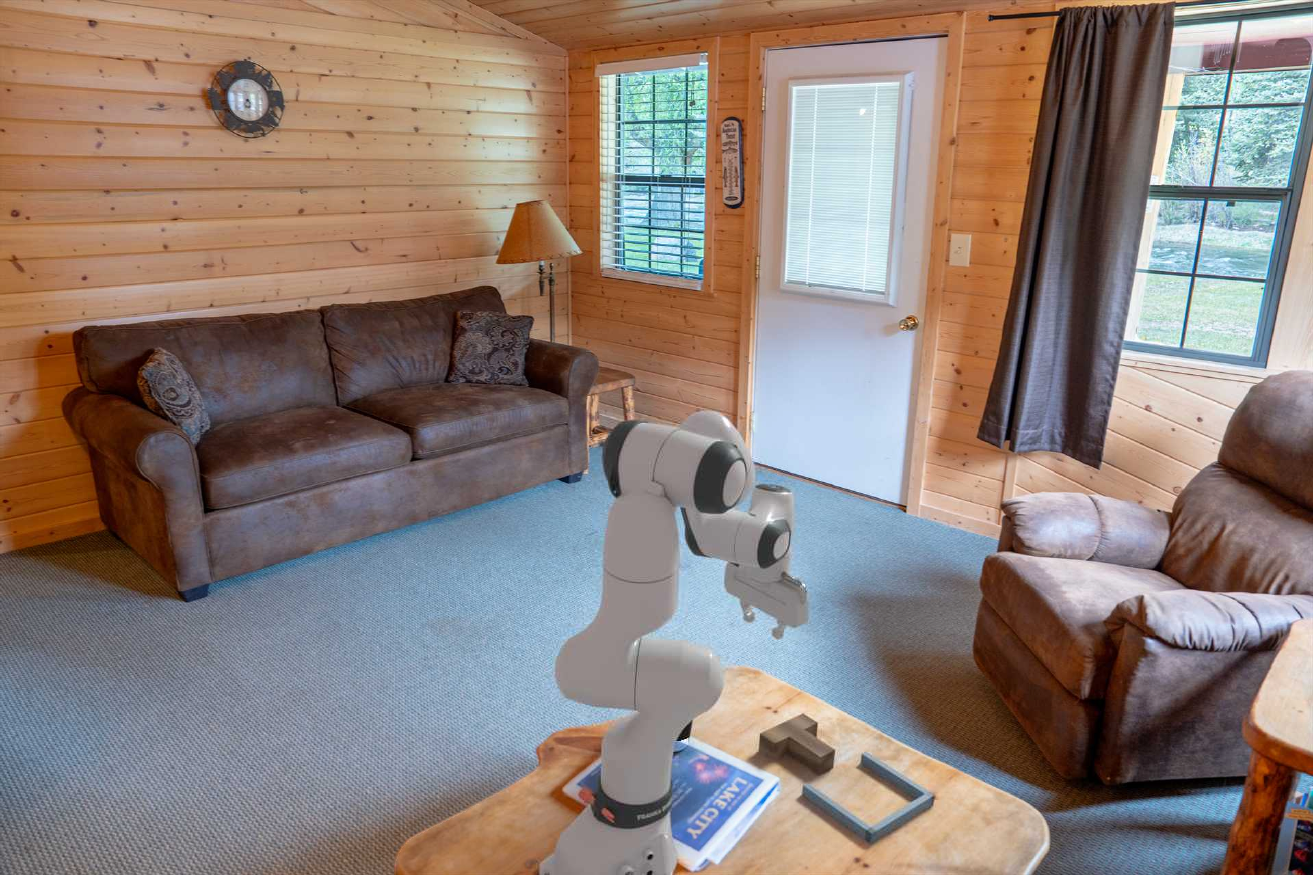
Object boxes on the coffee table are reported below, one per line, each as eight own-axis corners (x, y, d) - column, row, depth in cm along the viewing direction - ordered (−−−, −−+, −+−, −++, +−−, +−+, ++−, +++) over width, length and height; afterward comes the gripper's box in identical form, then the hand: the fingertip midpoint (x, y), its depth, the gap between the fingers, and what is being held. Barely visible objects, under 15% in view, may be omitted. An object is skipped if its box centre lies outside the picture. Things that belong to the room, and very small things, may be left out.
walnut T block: (804, 783, 170) (805, 764, 169) (758, 751, 179) (759, 733, 178) (847, 760, 177) (849, 742, 176) (801, 730, 186) (803, 713, 185)
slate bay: (870, 843, 155) (871, 833, 154) (801, 794, 167) (802, 784, 166) (933, 804, 165) (934, 794, 165) (864, 760, 177) (865, 751, 177)
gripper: (819, 579, 172) (813, 646, 176) (743, 543, 187) (739, 605, 191) (795, 587, 168) (789, 655, 172) (720, 550, 184) (717, 613, 187)
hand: (762, 629), depth 182 cm, fingers open, 7 cm apart
